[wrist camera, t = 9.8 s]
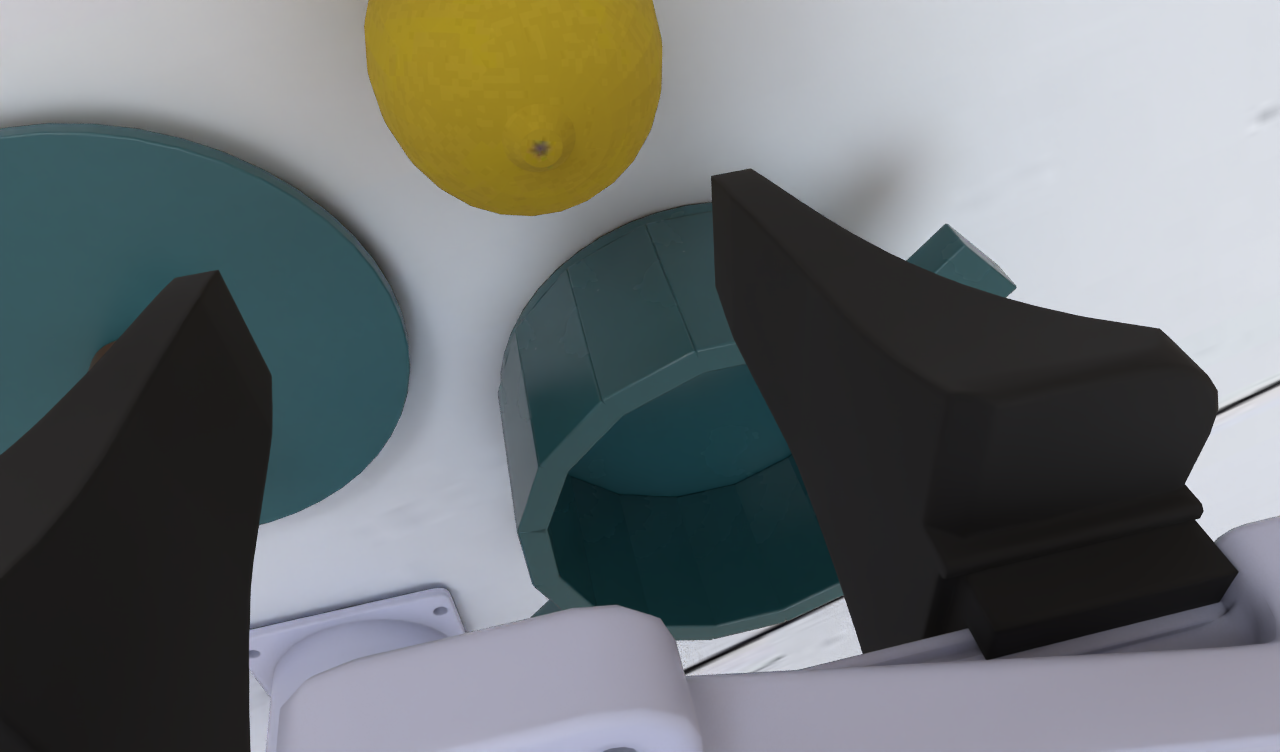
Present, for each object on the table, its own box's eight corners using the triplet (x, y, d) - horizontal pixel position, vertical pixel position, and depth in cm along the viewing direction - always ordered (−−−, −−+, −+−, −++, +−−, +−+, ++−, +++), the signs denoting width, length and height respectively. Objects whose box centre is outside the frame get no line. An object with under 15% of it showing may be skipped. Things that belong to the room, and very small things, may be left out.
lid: (500, 277, 25) (519, 388, 22) (278, 555, 31) (265, 677, 28) (-68, -16, 18) (-174, 82, 15) (-225, 419, 24) (-329, 563, 20)
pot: (1016, 259, 29) (1127, 381, 25) (660, 574, 37) (698, 711, 32) (750, 33, 22) (839, 147, 18) (378, 479, 30) (377, 636, 25)
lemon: (576, -199, 18) (668, -86, 12) (642, 56, 22) (735, 233, 16) (319, -109, 18) (290, 43, 12) (428, 129, 22) (445, 331, 16)
